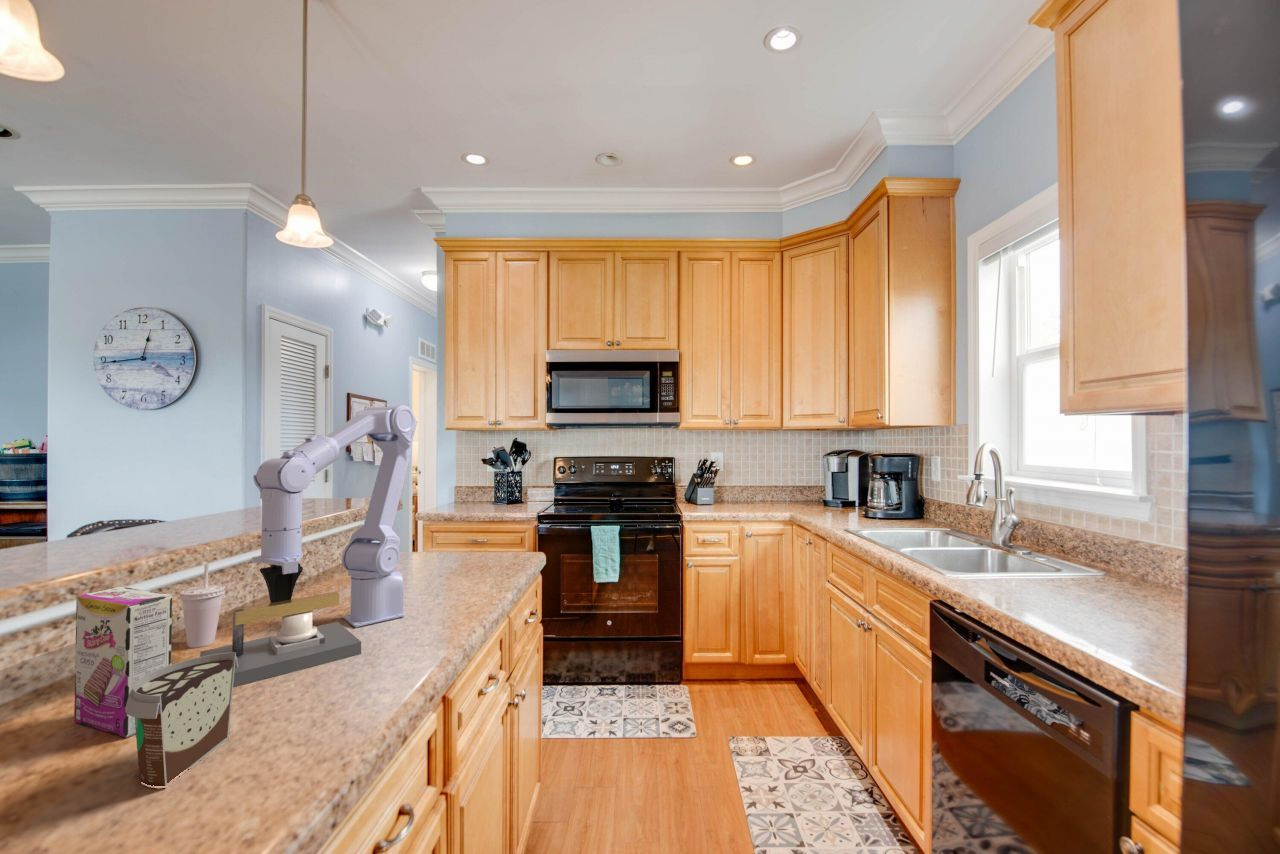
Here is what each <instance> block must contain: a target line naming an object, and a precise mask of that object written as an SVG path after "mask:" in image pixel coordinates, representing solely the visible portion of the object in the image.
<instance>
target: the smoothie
mask: <svg viewBox="0 0 1280 854" xmlns="http://www.w3.org/2000/svg"><path fill="white" fill-rule="evenodd" d="M203 577H204V579H203V585H200V586H195V587H189V588H186V589H184V590H182V591H180V592H179V597H178V599H179V600H181V604H182V605H181V606H182V613H183V621H184V627H185V635H186V642H187V643H186V645H187V648H190V649H193V648H194V649H195V648H203V647H207V646H210V645H212V644H214V643H215V640H216V636H217V632H218V631H217V630H218V625H219V619H220V613H221V607H222V602H223V596H224V594H225V593H226V586H225V585H223V584H209V563H205V564H204V574H203Z"/></svg>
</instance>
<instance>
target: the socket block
mask: <svg viewBox="0 0 1280 854" xmlns="http://www.w3.org/2000/svg"><path fill="white" fill-rule="evenodd" d="M316 627H317V634H316V635H315V636H313V637H312V639H309V640H305V641H301V642H296V643H292V644H288V645H283V646H282V645H281V642H277V641H276V634H275V635H271V636H266V637H261V638H256V639H252V640H247V641H243V655H241V656H237V661H238V668H235V670H234V682H233V688H234V687H240V686H243V685H247V684H250V683H254V682H258V681H259V682H260V681H262V680H266V679H270V678H274V677H277V676H280V675H285V674H289V673H292V672H296V671H300V670H303V669H304V670H305V669H308V668H312V667H316V666H320V665H324V664H327V663H330V662H335V661H338V660H342V659H346V658H349V657H354V656H358V655H361V654H362V641H361V640H360V639H359V638H357V636H356V635H354V634H353V633H351V632H350V631H349V630H348V629H347V628H346V627H345V626H344V625H342V624H341V623H340V622H339V621H336V622H330V623H327V624H321V625H317V626H316ZM220 653H232V644H229V645H224V646H221V647H220V646H219V647H214V648H211V649H207V650H205V649H204V650H201V651H200V654H199V657H202V656H208V655H213V654H220Z"/></svg>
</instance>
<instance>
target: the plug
mask: <svg viewBox="0 0 1280 854" xmlns="http://www.w3.org/2000/svg"><path fill="white" fill-rule="evenodd" d="M313 611H314V610H312V611H307V612H302V613H297V614H292V615H287V616H282V617H281V627H280V628H281V630H280V631H278V632H277V633H276V634H275V635H276V641H277V642H281V645H282V646H283V645H288V644H292V643H296V642H301V641H305V640H309V639H312V637H313V636H315V635H316V634H317V626H316V625H313V619H314V618H313V616H314V613H313Z"/></svg>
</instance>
